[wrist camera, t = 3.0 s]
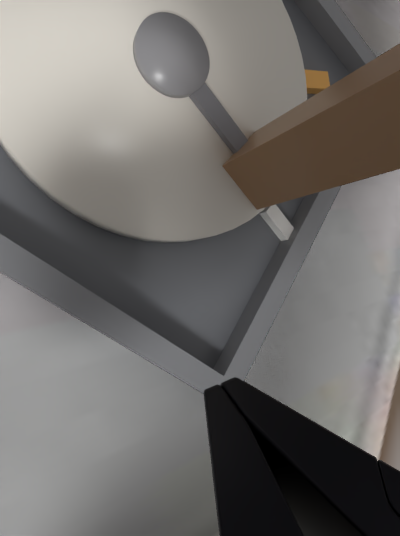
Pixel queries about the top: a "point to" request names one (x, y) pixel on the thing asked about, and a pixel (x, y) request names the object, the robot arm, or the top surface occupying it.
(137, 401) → the top surface
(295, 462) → the robot arm
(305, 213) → the dial board
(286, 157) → the dial
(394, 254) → the top surface
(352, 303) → the top surface
